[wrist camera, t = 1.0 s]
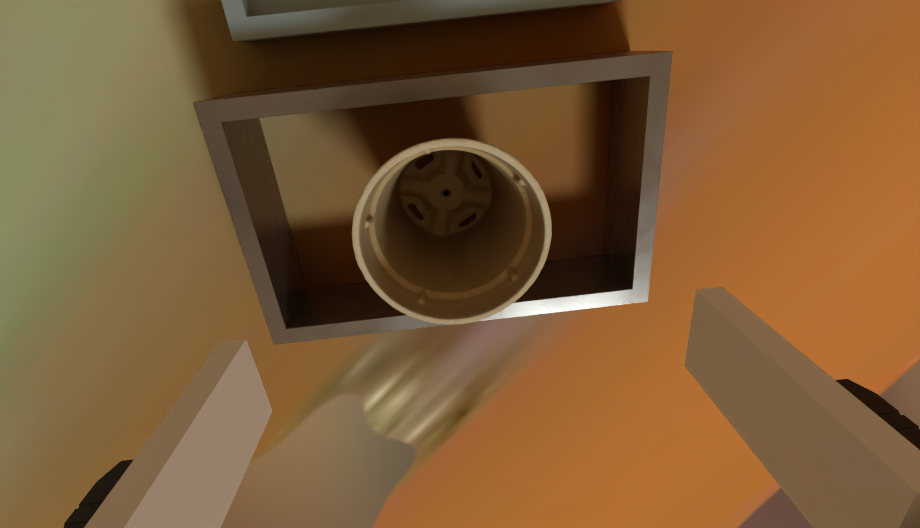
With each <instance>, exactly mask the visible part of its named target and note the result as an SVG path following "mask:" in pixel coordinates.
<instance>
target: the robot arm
mask: <svg viewBox="0 0 920 528" xmlns="http://www.w3.org/2000/svg"><path fill="white" fill-rule="evenodd" d="M685 367H686V368H687V369H688V370H689V372H690V373H691V374H692V375H693V377H694V378H695V379H696V381H697V382H698V383H699V384H700V386H701V387H702V388H703V389H704V391H705V392H706V393H707V394H708V396H709V397H710V398H711V399H712V401H713V402H714V403H715V404H716V406H717V407H718V408H719V410H720V411H721V412H722V413H723V415H724V416H725V417H726V418H727V420H728V421H729V422H730V423H731V425H732V426H733V427H734V428H735V430H736V431H737V432H738V434H739V435H740V436H741V437H742V439H743V440H744V441H745V442H746V444H747V445H748V446H749V447H750V449H751V450H752V451H753V452H754V454H755V455H756V456H757V458H758V459H759V460H760V461H761V463H762V464H763V465H764V466H765V468H766V469H767V470H768V471H769V473H770V474H771V475H772V476H773V478H774V479H775V480H776V482H777V483H778V484H779V485H780V487H781V488H782V489H783V490H784V492H785V493H786V494H787V495H788V497H789V498H790V499H791V500H792V502H793V503H794V504H795V505H796V507H797V508H798V509H799V510H800V512H801V513H802V514H803V516H804V517H805V518H806V519H807V521H808V522H809V523H810V524H811V526H812V527H813V528H920V430H919V427H918V426H917V425H916V424H915V423H913V422H912V421H911V420H910V419H908V418H907V417H906V416H904V415H900V414H899V411H898V410H897V409H895V408H894V407H893V406H892V405H890V404H889V403H888V402H886V401H885V400H884V399H882V398H881V397H880V396H879V395H877V394H876V393H874V392H872V391H870V390H868V389H866V388H864V387H862V386H860V385H858V384H856V383H854V382H852V381H850V380H849V379H842V380H834V379H833V378H832V377H831V376H829V375H828V374H827V373H826V372H825V371H823V370H822V369H821V368H820V367H819V366H817V365H816V364H815V363H814V362H813V361H811V360H810V359H809V358H808V357H806V356H805V355H804V354H803V353H802V352H800V351H799V350H798V349H797V348H796V347H794V346H793V345H792V344H791V343H789V342H788V341H787V340H786V339H785V338H783V337H782V336H781V335H780V334H779V333H777V332H776V331H775V330H774V329H773V328H771V327H770V326H769V325H768V324H766V323H765V322H764V321H763V320H762V319H760V318H759V317H758V316H757V315H756V314H754V313H753V312H752V311H751V310H750V309H748V308H747V307H746V306H745V305H743V304H742V303H741V302H740V301H739V300H737V299H736V298H735V297H734V296H733V295H731V294H730V293H729V292H728V291H727V290H725V289H724V288H723V287H717V288H708V289H699V290H696V294H695V301H694V307H693V314H692V320H691V327H690V333H689V340H688V347H687V353H686V360H685ZM271 413H272V409H271V406H270V403H269V401H268V398H267V395H266V392H265V390H264V387H263V384H262V381H261V379H260V376H259V373H258V370H257V368H256V365H255V362H254V360H253V357H252V354H251V351H250V349H249V346H248V343H247V340H246V339H243V340H234V341H225V342H219V344H218V345H217V346H216V348H215V349H214V350H213V352H212V353H211V355H210V356H209V357H208V359H207V360H206V361H205V363H204V364H203V366H202V367H201V368H200V370H199V371H198V372H197V374H196V375H195V377H194V378H193V379H192V381H191V382H190V383H189V385H188V386H187V387H186V389H185V390H184V392H183V393H182V394H181V396H180V397H179V398H178V400H177V401H176V403H175V404H174V405H173V407H172V408H171V409H170V411H169V412H168V414H167V415H166V416H165V418H164V419H163V420H162V422H161V423H160V424H159V426H158V427H157V429H156V430H155V431H154V433H153V434H152V435H151V437H150V438H149V440H148V441H147V442H146V444H145V445H144V446H143V448H142V449H141V451H140V452H139V453H138V455H137V456H136V457H135V459H134V460H126V461H121V462H119V463H118V464H117V465H116V466H115V467H114V468H112V469H111V470H110V471H109V472H108V473H106V474H105V475H104V476H103V477H102V478H101V479H99V480H98V481H97V482H96V483H95V485H94V486H93V487H92V489H91V490H90V491H89V492H88V494H87V495H86V496H85V498H84V499H83V500H82V501H81V503H80V504H79V508H78V509H75V510H74V512H73V513H72V514H71V516H70V517H69V518H68V519H67V521H66V522H65V523H64V528H221V525H222V523H223V521H224V519H225V516H226V514H227V512H228V510H229V507H230V505H231V503H232V501H233V498H234V496H235V494H236V492H237V489H238V487H239V485H240V483H241V481H242V478H243V476H244V474H245V471H246V469H247V467H248V465H249V463H250V460H251V458H252V456H253V454H254V451H255V449H256V447H257V445H258V442H259V440H260V438H261V436H262V433H263V431H264V429H265V427H266V424H267V422H268V420H269V418H270V415H271Z"/></svg>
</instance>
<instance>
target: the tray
mask: <svg viewBox="0 0 920 528" xmlns="http://www.w3.org/2000/svg"><path fill="white" fill-rule="evenodd" d="M617 1H621V0H221V2H222V5H223V9H224V12H225V16H226V19H227V23H228V26H229V30H230V33H231V37H232V41H238V42H250V41H260V40H269V39H279V38H289V37H298V36H308V35H317V34H327V33H336V32H346V31H355V30H365V29H374V28H384V27H393V26H403V25H413V24H422V23H432V22H441V21H451V20H460V19H470V18H479V17H489V16H498V15H508V14H517V13H527V12H537V11H546V10H556V9H565V8H575V7H584V6H594V5H603V4H609V3H613V2H617Z"/></svg>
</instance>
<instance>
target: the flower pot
mask: <svg viewBox="0 0 920 528" xmlns="http://www.w3.org/2000/svg"><path fill="white" fill-rule="evenodd" d="M430 154H432V156H433V160H432V161H431V162H429V163H428V164H426V165H424V166H423V167H422V168H421V169H419V168H417V166H416V162H417V161H418V160H419V159H421V158H423V157H426V156H427V155H430ZM473 163H474V164H475V165H476V166H477V168H478V169H479V170H480V172H481V174H482V177H481V179H479V177H478V176H477V174H476V173H473V172H474V170H473V168H472V166H471V165H472V164H473ZM445 190H448V191H449V195H448V196H445V195H443V192H444V191H445ZM410 204H414V205H415V206H416V208H417V210H418V211H419V212H420V213H421V214H422V216H423V218H422V219H420V218H419V217H417V216H416V215H415V214H414V213H413V212H412V211H411V210H410V209H409V207H408V206H409V205H410ZM473 214H475V215H476V218H475V219H474V220H473V222H471V223H469V224H468V225H467V226H460V225H459V224H460V223H461V222H463V221H464V220H466V219H467V218H469V217H470V216H471V215H473ZM551 236H552V223H551V216H550V211H549V206H548V203H547V200H546V198H545V195H544V193H543V191H542V189H541V187H540V185H539V184H538V182H537V181H536V179H535V178H534V177H533V175H532V174H531V173H530V172H529V171H528V170H527V168H526V167H525V166H524V165H523V164H521V163H520V162H519V161H518V160H517V159H516V158H515V157H513V156H512V155H510V154H508V153H507V152H505V151H503V150H502V149H500V148H497V147H495V146H493V145H490V144H487V143H484V142H481V141H477V140H472V139H466V138H444V139H436V140H431V141H427V142H423V143H419V144H416V145H414V146H412V147H409V148H407V149H405V150H403V151H401V152H400V153H398V154H396V155H395V156H393V157H392V158H390V159H389V160H388V161H387V162H385V163H384V164H383V165H382V166H381V167H380V168H379V169H378V170H377V171H376V172H375V174H374V175H373V176H372V177H371V178H370V180H369V181H368V183H367V184H366V186H365V187H364V189H363V191H362V193H361V195H360V197H359V199H358V202H357V205H356V208H355V212H354V216H353V224H352V243H353V249H354V253H355V258H356V261H357V263H358V266H359V268H360V270H361V271H362V273H363V275H364V277H365V279H366V280H367V282H368V283H369V285H370V286H371V287H372V289H373V290H374V291H375V292H376V293H377V294H378V295H379V296H380V297H381V298H382V299H383V300H385V301H386V302H387V303H388V304H389V305H391V306H392V307H393V308H395V309H397V310H399V311H400V312H402V313H404V314H406V315H408V316H410V317H412V318H416V319H419V320H422V321H426V322H430V323H436V324H465V323H469V322H475V321H478V320H482V319H485V318H487V317H490V316H492V315H494V314H496V313H498V312H501V311H503V310H504V309H505V308H507V307H508V306H510V305H511V304H512V303H514V302H515V301H516V300H517V299H519V298H520V297H521V296H522V295H523V294H524V293H525V292H526V291H527V290H528V289H529V287H530V286H531V285H532V284H533V283H534V281H535V280H536V278H537V277H538V275H539V273H540V272H541V269H542V268H543V266H544V264H545V261H546V258H547V255H548V252H549V248H550V243H551Z"/></svg>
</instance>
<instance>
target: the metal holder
mask: <svg viewBox="0 0 920 528" xmlns="http://www.w3.org/2000/svg"><path fill="white" fill-rule="evenodd" d="M672 53H673V51H624V52H615V53H605V54H596V55H587V56H577V57H568V58H558V59H549V60H540V61H530V62H521V63H511V64H502V65H493V66H483V67H474V68H465V69H455V70H446V71H436V72H427V73H418V74H408V75H399V76H389V77H380V78H371V79H361V80H352V81H343V82H333V83H324V84H314V85H305V86H296V87H286V88H277V89H267V90H258V91H249V92H239V93H232V94H228V95H223V96H219V97H214V98H210V99H206V100H201V101H197V102H193V105H194V108H195V111H196V114H197V117H198V120H199V123H200V126H201V129H202V132H203V135H204V138H205V141H206V144H207V147H208V150H209V153H210V156H211V159H212V162H213V165H214V168H215V171H216V174H217V176H218V179H219V182H220V185H221V188H222V191H223V194H224V197H225V200H226V203H227V206H228V209H229V212H230V215H231V218H232V221H233V224H234V227H235V230H236V233H237V236H238V239H239V242H240V245H241V248H242V251H243V254H244V257H245V260H246V263H247V266H248V269H249V272H250V275H251V278H252V281H253V284H254V287H255V290H256V293H257V296H258V299H259V302H260V305H261V308H262V311H263V314H264V317H265V320H266V323H267V326H268V329H269V332H270V334H271V337H272V340H273V343H274V345H275V344H284V343H293V342H302V341H310V340H319V339H328V338H336V337H345V336H354V335H362V334H371V333H380V332H388V331H397V330H406V329H414V328H423V327H432V326H440V325H449V324H436V323H430V322H426V321H422V320H419V319H416V318H412V317H410V316H408V315H406V314H404V313H402V312H400V311H399V310H397V309H395V308H393V307H392V306H391V305H389V304H388V303H387V302H386V301H385V300H383V299H382V298H381V297H380V296H379V295H378V294H377V293H376V292H375V291H374V290H373V289H372V287H371V286H370V285H369V283H368V282H363V283H355V284H346V285H337V286H328V287H319V288H311V289H306V285H305V282H304V278H303V275H302V271H301V268H300V264H299V260H298V257H297V253H296V250H295V246H294V242H293V239H292V235H291V232H290V228H289V224H288V221H287V217H286V214H285V210H284V207H283V203H282V199H281V196H280V192H279V189H278V185H277V181H276V178H275V174H274V171H273V167H272V163H271V160H270V156H269V153H268V149H267V146H266V142H265V138H264V135H263V131H262V128H261V124H260V120H259V118H262V117H272V116H281V115H290V114H300V113H309V112H318V111H328V110H337V109H346V108H356V107H365V106H374V105H383V104H393V103H402V102H411V101H421V100H430V99H439V98H449V97H458V96H467V95H476V94H486V93H495V92H504V91H514V90H523V89H532V88H542V87H551V86H560V85H570V84H579V83H588V82H597V81H607V80H612V96H611V116H610V137H609V157H608V178H607V198H606V219H605V240H604V255H601V256H593V257H584V258H575V259H566V260H557V261H549V262H545V264H544V266H543V268H542V269H541V272H540V273H539V275H538V277H537V278H536V280H535V281H534V283H533V284H532V285H531V286H530V287H529V289H528V290H527V291H526V292H525V293H524V294H523V295H522V296H521V297H520V298H519V299H517V300H516V301H515V302H514V303H512V304H511V305H510V306H508V307H507V308H505V309H504V310H503V311H501V312H498V313H496V314H494V315H492V316H490V317H487V318H485V319H482V320H478V321H484V320H492V319H501V318H510V317H518V316H527V315H536V314H544V313H553V312H562V311H570V310H579V309H588V308H597V307H605V306H614V305H623V304H631V303H640V302H648V292H649V282H650V272H651V262H652V252H653V242H654V232H655V222H656V212H657V202H658V192H659V182H660V172H661V162H662V152H663V142H664V133H665V123H666V113H667V103H668V93H669V83H670V73H671V63H672Z"/></svg>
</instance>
